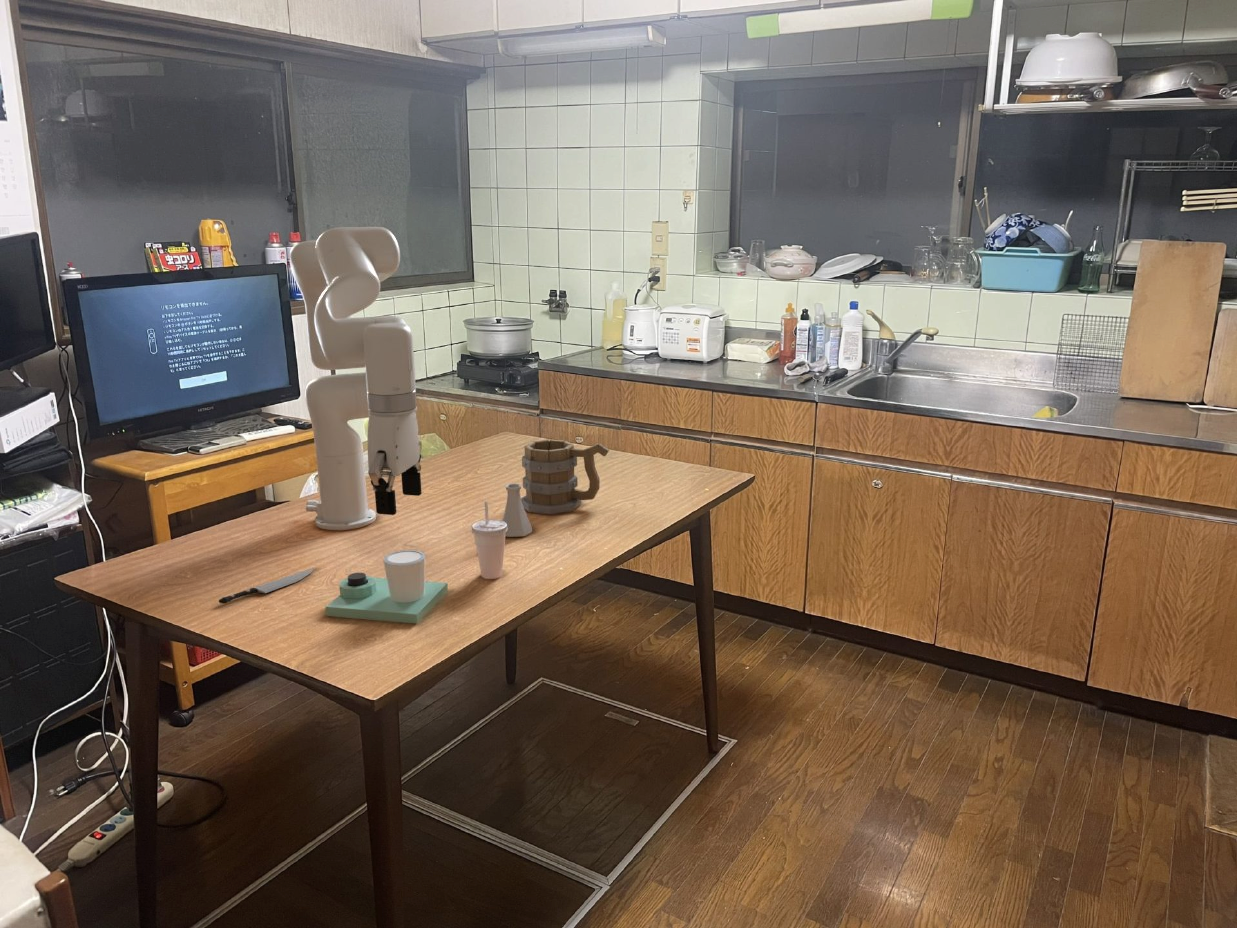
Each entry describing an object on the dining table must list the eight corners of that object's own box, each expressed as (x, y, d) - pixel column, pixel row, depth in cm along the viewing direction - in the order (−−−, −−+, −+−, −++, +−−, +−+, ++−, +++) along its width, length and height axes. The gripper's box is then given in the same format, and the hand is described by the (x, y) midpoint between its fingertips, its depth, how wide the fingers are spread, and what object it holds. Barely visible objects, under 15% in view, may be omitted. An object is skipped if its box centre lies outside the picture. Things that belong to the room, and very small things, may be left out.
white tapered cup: (387, 606, 149) (383, 566, 147) (385, 590, 156) (382, 551, 154) (429, 601, 151) (427, 561, 149) (426, 585, 157) (424, 547, 155)
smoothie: (492, 566, 170) (489, 494, 166) (516, 574, 166) (513, 501, 163) (466, 576, 165) (462, 503, 162) (490, 585, 162) (487, 510, 158)
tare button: (345, 587, 154) (344, 578, 153) (353, 580, 156) (352, 571, 156) (361, 588, 153) (360, 579, 152) (369, 581, 156) (369, 572, 155)
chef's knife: (323, 574, 167) (313, 569, 169) (323, 568, 167) (313, 564, 169) (227, 609, 153) (217, 604, 154) (226, 603, 152) (216, 597, 154)
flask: (527, 539, 184) (525, 491, 181) (492, 536, 185) (490, 490, 183) (537, 527, 191) (535, 481, 188) (504, 525, 192) (502, 479, 190)
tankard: (513, 511, 201) (510, 445, 197) (536, 494, 213) (534, 432, 209) (598, 520, 195) (597, 452, 191) (617, 502, 207) (616, 438, 203)
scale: (323, 615, 150) (321, 596, 149) (361, 585, 162) (359, 566, 161) (417, 623, 147) (415, 603, 146) (448, 591, 159) (446, 573, 158)
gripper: (394, 390, 153) (401, 486, 158) (344, 413, 137) (353, 520, 142) (436, 391, 152) (441, 489, 157) (390, 415, 136) (398, 523, 141)
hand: (399, 504), depth 149 cm, fingers open, 9 cm apart
